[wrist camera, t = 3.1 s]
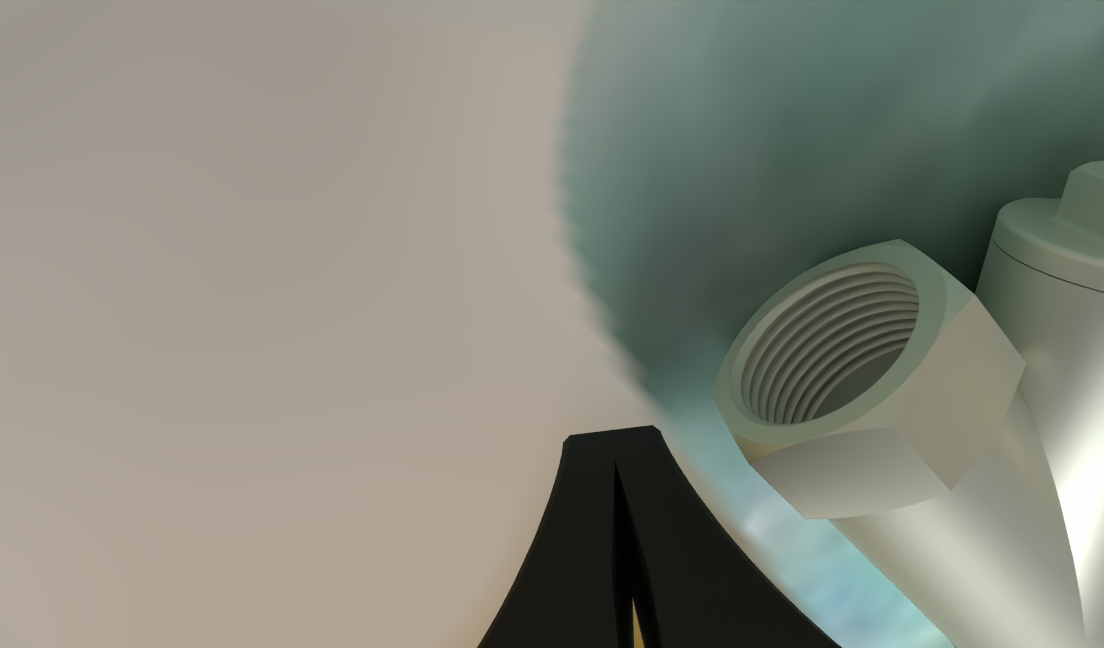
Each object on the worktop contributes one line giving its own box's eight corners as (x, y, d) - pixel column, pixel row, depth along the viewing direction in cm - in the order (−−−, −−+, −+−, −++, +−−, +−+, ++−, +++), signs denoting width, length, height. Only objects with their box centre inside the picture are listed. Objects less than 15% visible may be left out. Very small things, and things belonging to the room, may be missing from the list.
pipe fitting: (1064, 47, 11) (690, 350, 13) (1324, 101, 8) (765, 506, 9) (1267, 393, 14) (940, 604, 16) (1522, 545, 11) (1069, 795, 12)
